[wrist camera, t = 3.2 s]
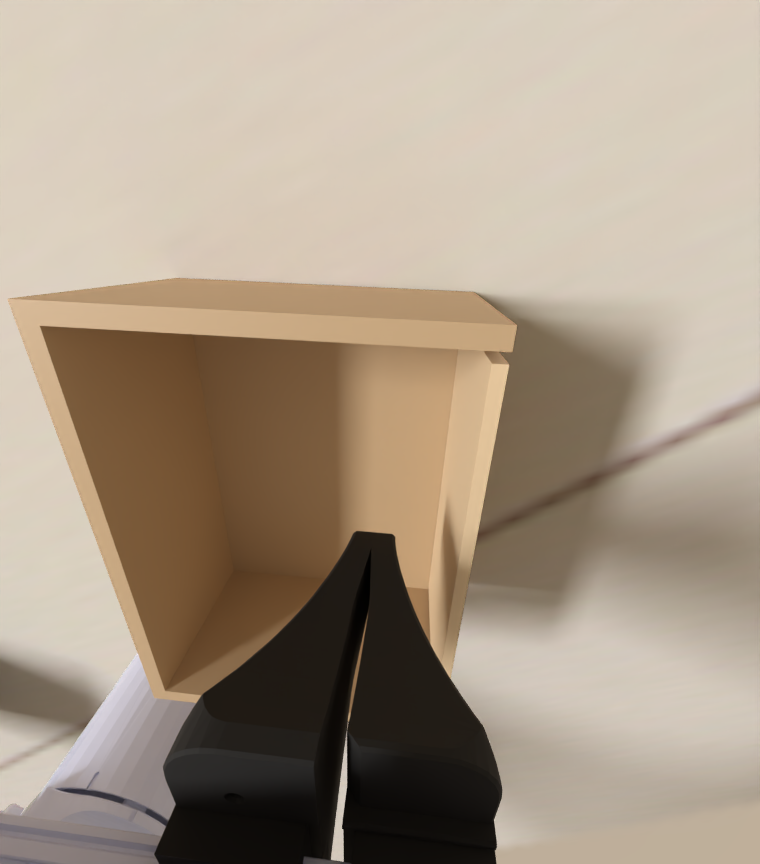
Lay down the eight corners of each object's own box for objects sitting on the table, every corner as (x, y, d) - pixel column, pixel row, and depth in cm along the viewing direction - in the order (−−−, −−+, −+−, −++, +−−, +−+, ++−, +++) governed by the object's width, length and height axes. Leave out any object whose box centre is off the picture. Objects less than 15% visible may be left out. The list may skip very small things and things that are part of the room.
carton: (433, 589, 22) (440, 732, 15) (229, 569, 23) (154, 698, 16) (473, 292, 15) (517, 325, 8) (177, 278, 16) (7, 298, 9)
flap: (435, 586, 21) (442, 717, 15) (428, 585, 21) (432, 717, 15) (472, 318, 15) (509, 364, 9) (462, 318, 15) (491, 363, 9)
